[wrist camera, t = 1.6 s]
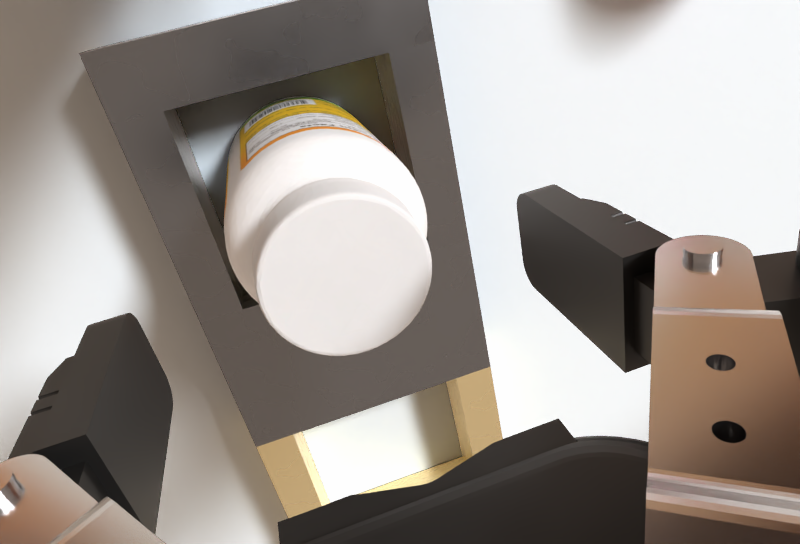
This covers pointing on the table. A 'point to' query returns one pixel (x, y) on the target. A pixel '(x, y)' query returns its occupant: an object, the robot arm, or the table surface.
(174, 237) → the rail
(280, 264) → the supplement bottle
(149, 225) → the table surface
